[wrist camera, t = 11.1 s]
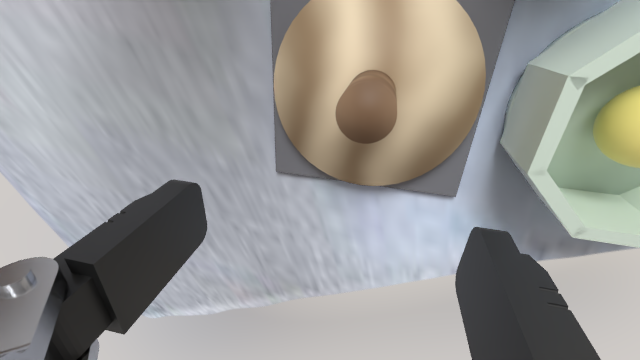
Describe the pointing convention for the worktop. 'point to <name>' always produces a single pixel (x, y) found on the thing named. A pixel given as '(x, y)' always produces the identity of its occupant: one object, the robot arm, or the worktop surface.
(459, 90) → the oak lid
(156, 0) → the worktop surface
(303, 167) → the rubber mat
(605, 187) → the green bowl
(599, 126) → the yellow ball
